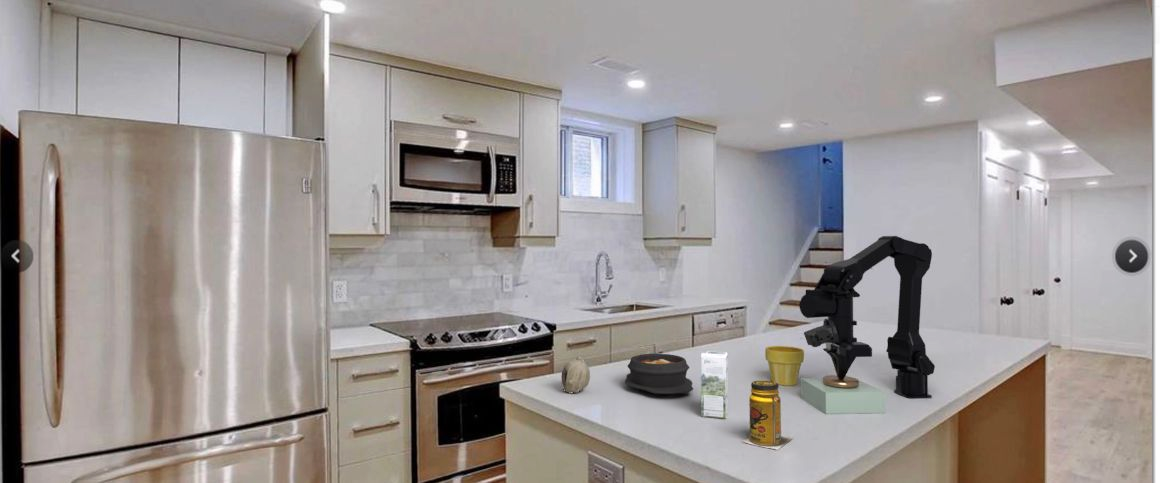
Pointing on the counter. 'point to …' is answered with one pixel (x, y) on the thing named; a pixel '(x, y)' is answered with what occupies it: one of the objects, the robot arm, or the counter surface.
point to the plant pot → (784, 363)
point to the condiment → (765, 416)
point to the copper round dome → (841, 381)
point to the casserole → (659, 374)
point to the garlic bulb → (575, 375)
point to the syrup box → (714, 384)
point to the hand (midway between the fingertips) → (840, 379)
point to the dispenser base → (842, 397)
